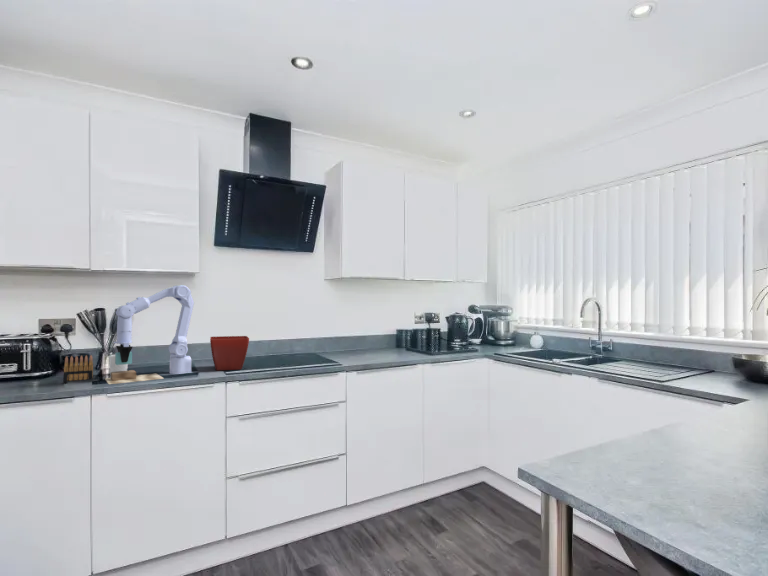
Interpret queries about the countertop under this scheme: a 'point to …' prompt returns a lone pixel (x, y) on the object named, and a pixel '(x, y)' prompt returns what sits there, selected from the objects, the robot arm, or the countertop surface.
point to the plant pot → (229, 351)
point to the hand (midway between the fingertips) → (123, 361)
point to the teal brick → (118, 359)
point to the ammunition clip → (78, 369)
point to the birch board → (138, 378)
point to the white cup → (116, 367)
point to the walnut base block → (123, 375)
